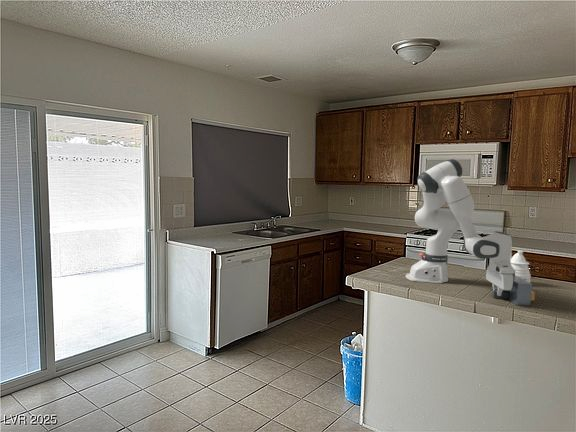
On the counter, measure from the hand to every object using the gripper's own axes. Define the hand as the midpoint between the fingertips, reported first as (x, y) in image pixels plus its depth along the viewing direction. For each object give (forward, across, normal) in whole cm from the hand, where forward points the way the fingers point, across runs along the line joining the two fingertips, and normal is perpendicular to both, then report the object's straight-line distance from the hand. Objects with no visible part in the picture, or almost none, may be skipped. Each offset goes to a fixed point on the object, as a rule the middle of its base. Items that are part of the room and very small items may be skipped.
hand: (497, 294), depth 195 cm
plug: (+2, 0, +7) cm, 7 cm away
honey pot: (+2, -31, +24) cm, 39 cm away
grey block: (+2, 0, +7) cm, 7 cm away
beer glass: (+2, -49, +25) cm, 55 cm away
